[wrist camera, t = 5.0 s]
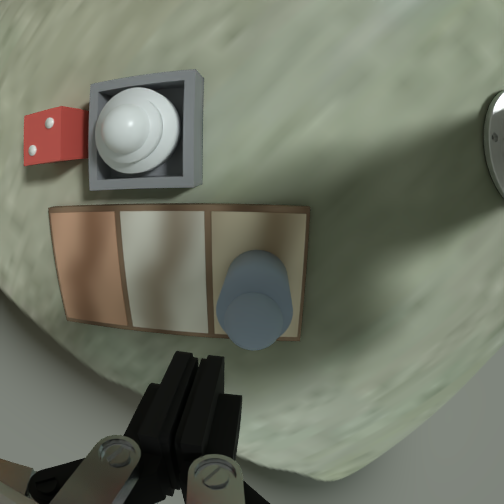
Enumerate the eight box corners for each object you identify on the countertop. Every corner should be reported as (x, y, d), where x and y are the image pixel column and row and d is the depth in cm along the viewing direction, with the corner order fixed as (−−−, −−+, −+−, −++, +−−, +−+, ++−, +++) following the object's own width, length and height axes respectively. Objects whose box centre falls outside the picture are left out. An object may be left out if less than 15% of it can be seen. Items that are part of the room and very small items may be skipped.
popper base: (204, 78, 23) (195, 69, 20) (202, 183, 25) (193, 187, 22) (107, 89, 23) (90, 84, 20) (106, 186, 26) (89, 190, 23)
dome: (182, 87, 21) (162, 73, 17) (180, 170, 23) (160, 174, 18) (107, 97, 21) (77, 88, 17) (106, 174, 23) (75, 179, 19)
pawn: (289, 251, 25) (300, 298, 17) (285, 307, 27) (292, 372, 18) (227, 248, 26) (207, 293, 17) (226, 304, 27) (209, 367, 18)
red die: (89, 110, 24) (60, 105, 19) (88, 158, 25) (59, 160, 20) (53, 118, 24) (23, 115, 19) (52, 162, 25) (22, 166, 21)
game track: (309, 206, 25) (310, 207, 24) (299, 336, 29) (299, 341, 28) (53, 206, 26) (47, 208, 25) (70, 317, 30) (66, 321, 29)
